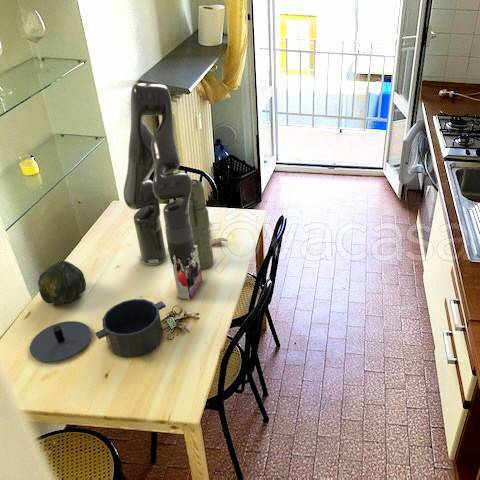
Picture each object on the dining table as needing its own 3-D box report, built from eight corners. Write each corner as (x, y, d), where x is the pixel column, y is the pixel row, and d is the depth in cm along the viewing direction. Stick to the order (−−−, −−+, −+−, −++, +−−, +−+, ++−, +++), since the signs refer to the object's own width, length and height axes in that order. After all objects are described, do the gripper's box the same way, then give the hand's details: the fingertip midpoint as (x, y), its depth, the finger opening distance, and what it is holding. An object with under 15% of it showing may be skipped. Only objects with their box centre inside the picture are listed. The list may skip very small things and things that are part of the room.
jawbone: (208, 252, 205) (207, 247, 204) (189, 229, 220) (188, 225, 219) (228, 244, 209) (227, 239, 208) (208, 222, 224) (208, 218, 222)
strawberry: (175, 283, 160) (172, 268, 157) (189, 276, 163) (187, 261, 160) (183, 290, 157) (181, 275, 154) (197, 284, 160) (195, 268, 157)
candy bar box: (190, 279, 189) (185, 242, 180) (202, 281, 188) (198, 244, 179) (177, 298, 180) (171, 260, 171) (190, 300, 179) (185, 262, 170)
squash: (22, 292, 172) (40, 269, 165) (51, 268, 185) (69, 246, 177) (56, 319, 175) (75, 298, 168) (83, 294, 188) (101, 273, 180)
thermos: (188, 273, 192) (176, 190, 173) (191, 255, 202) (181, 175, 183) (212, 272, 193) (203, 189, 174) (214, 254, 203) (206, 174, 184)
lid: (22, 341, 161) (16, 327, 157) (78, 316, 171) (73, 302, 168) (43, 373, 150) (37, 358, 147) (101, 344, 161) (97, 329, 157)
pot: (91, 341, 161) (84, 319, 156) (154, 310, 174) (150, 288, 169) (115, 371, 152) (108, 348, 146) (180, 336, 164) (176, 313, 159)
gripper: (204, 241, 148) (209, 287, 158) (178, 222, 157) (184, 266, 166) (181, 251, 144) (188, 297, 153) (155, 230, 152) (163, 276, 162)
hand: (186, 281), depth 160 cm, fingers closed on strawberry, 5 cm apart
